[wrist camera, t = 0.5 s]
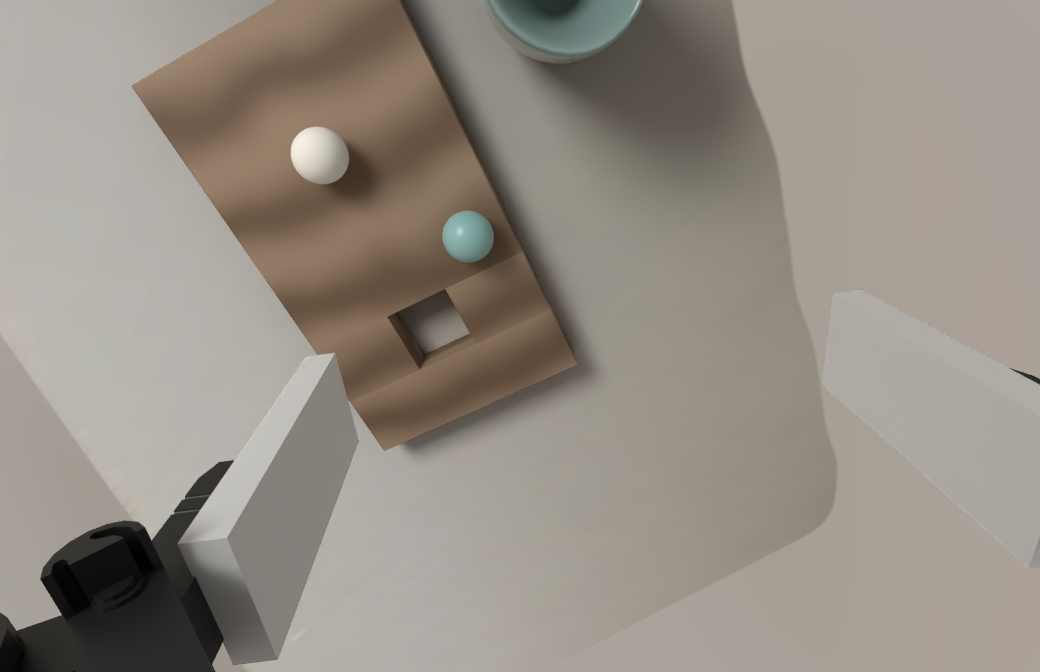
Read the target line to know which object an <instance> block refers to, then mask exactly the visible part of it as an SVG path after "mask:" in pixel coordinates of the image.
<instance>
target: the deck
mask: <svg viewBox="0 0 1040 672" xmlns="http://www.w3.org/2000/svg"><path fill="white" fill-rule="evenodd" d="M132 88H133V89H134V91H135V92H136V94H137V95H138V96H139V98H140V99H141V101H142V102H143V104H144V105H145V107H146V108H147V109H148V111H149V112H150V114H151V115H152V117H153V118H154V120H155V121H156V122H157V124H158V125H159V127H160V128H161V130H162V131H163V133H164V134H165V135H166V137H167V138H168V140H169V141H170V143H171V144H172V146H173V147H174V148H175V150H176V151H177V153H178V154H179V156H180V157H181V159H182V160H183V161H184V163H185V164H186V166H187V167H188V169H189V170H190V171H191V173H192V174H193V176H194V177H195V179H196V180H197V182H198V183H199V184H200V186H201V187H202V189H203V190H204V192H205V193H206V195H207V196H208V197H209V199H210V200H211V202H212V203H213V205H214V206H215V208H216V209H217V210H218V212H219V213H220V215H221V216H222V218H223V219H224V221H225V222H226V223H227V225H228V226H229V228H230V229H231V231H232V232H233V234H234V235H235V236H236V238H237V239H238V241H239V242H240V244H241V245H242V246H243V248H244V249H245V251H246V252H247V254H248V255H249V257H250V258H251V259H252V261H253V262H254V264H255V265H256V267H257V268H258V270H259V271H260V272H261V274H262V275H263V277H264V278H265V280H266V281H267V283H268V284H269V285H270V287H271V288H272V290H273V291H274V293H275V294H276V296H277V297H278V298H279V300H280V301H281V303H282V304H283V306H284V307H285V309H286V310H287V311H288V313H289V314H290V316H291V317H292V319H293V320H294V321H295V323H296V324H297V326H298V327H299V329H300V330H301V332H302V333H303V334H304V336H305V337H306V339H307V340H308V342H309V343H310V345H311V346H312V347H313V349H314V350H315V352H316V353H317V355H321V354H330V353H335V354H336V358H337V362H338V365H339V369H340V373H341V377H342V380H343V384H344V388H345V391H346V395H347V398H348V399H349V401H350V402H351V404H352V405H353V407H354V408H355V409H356V411H357V412H358V414H359V415H360V417H361V418H362V420H363V421H364V422H365V424H366V425H367V427H368V428H369V430H370V431H371V433H372V434H373V435H374V437H375V438H376V440H377V441H378V443H379V444H380V446H381V447H382V448H383V450H384V451H385V450H388V449H390V448H392V447H394V446H397V445H399V444H401V443H403V442H406V441H408V440H410V439H412V438H415V437H417V436H419V435H421V434H424V433H426V432H428V431H430V430H432V429H435V428H437V427H439V426H441V425H444V424H446V423H448V422H450V421H453V420H455V419H457V418H459V417H462V416H464V415H466V414H468V413H471V412H473V411H475V410H477V409H480V408H482V407H484V406H486V405H489V404H491V403H493V402H495V401H498V400H500V399H502V398H504V397H506V396H509V395H511V394H513V393H515V392H518V391H520V390H522V389H524V388H527V387H529V386H531V385H533V384H536V383H538V382H540V381H542V380H545V379H547V378H549V377H551V376H554V375H556V374H558V373H560V372H563V371H565V370H567V369H569V368H572V367H574V366H576V365H577V362H576V359H575V355H574V352H573V350H572V348H571V346H570V344H569V341H568V339H567V337H566V335H565V333H564V331H563V329H562V327H561V325H560V323H559V321H558V319H557V317H556V315H555V313H554V311H553V309H552V307H551V305H550V302H549V300H548V298H547V296H546V294H545V292H544V290H543V288H542V286H541V284H540V282H539V280H538V278H537V276H536V274H535V272H534V270H533V268H532V266H531V264H530V261H529V259H528V257H527V255H526V253H525V251H524V249H523V247H522V245H521V243H520V241H519V239H518V237H517V235H516V233H515V231H514V229H513V227H512V225H511V222H510V220H509V218H508V216H507V214H506V212H505V210H504V208H503V206H502V204H501V202H500V200H499V198H498V196H497V194H496V192H495V190H494V188H493V186H492V184H491V181H490V179H489V177H488V175H487V173H486V171H485V169H484V167H483V165H482V163H481V161H480V159H479V157H478V155H477V153H476V151H475V149H474V147H473V145H472V142H471V140H470V138H469V136H468V134H467V132H466V130H465V128H464V126H463V124H462V122H461V120H460V118H459V116H458V114H457V112H456V110H455V108H454V106H453V104H452V101H451V99H450V97H449V95H448V93H447V91H446V89H445V87H444V85H443V83H442V81H441V79H440V77H439V75H438V73H437V71H436V69H435V67H434V65H433V62H432V60H431V58H430V56H429V54H428V52H427V50H426V48H425V46H424V44H423V42H422V40H421V38H420V36H419V34H418V32H417V30H416V28H415V26H414V24H413V21H412V19H411V17H410V15H409V13H408V11H407V9H406V7H405V5H404V3H403V1H402V0H278V1H276V2H274V3H273V4H271V5H269V6H267V7H266V8H264V9H262V10H261V11H259V12H257V13H255V14H254V15H252V16H250V17H249V18H247V19H245V20H243V21H242V22H240V23H238V24H237V25H235V26H233V27H231V28H230V29H228V30H226V31H224V32H223V33H221V34H219V35H218V36H216V37H214V38H212V39H211V40H209V41H207V42H206V43H204V44H202V45H200V46H199V47H197V48H195V49H194V50H192V51H190V52H188V53H187V54H185V55H183V56H182V57H180V58H178V59H176V60H175V61H173V62H171V63H169V64H168V65H166V66H164V67H163V68H161V69H159V70H157V71H156V72H154V73H152V74H151V75H149V76H147V77H145V78H144V79H142V80H140V81H139V82H137V83H135V84H133V85H132ZM310 127H324V128H327V129H330V130H332V131H333V132H335V133H336V134H338V135H339V136H340V137H341V139H342V140H343V141H344V143H345V145H346V147H347V149H348V153H349V163H348V167H347V170H346V172H345V173H344V175H343V176H342V177H341V178H340V179H338V180H337V181H335V182H333V183H329V184H316V183H312V182H310V181H308V180H306V179H305V178H303V177H302V176H301V175H300V174H299V173H298V172H297V170H296V169H295V167H294V165H293V163H292V159H291V146H292V143H293V140H294V139H295V137H296V136H297V135H298V134H299V133H300V132H301V131H303V130H305V129H307V128H310ZM466 210H469V211H475V212H478V213H480V214H482V215H483V216H484V217H485V218H486V219H487V220H488V221H489V222H490V224H491V226H492V228H493V232H494V242H493V246H492V248H491V250H490V252H489V253H488V254H487V255H486V256H485V257H484V258H482V259H481V260H479V261H476V262H472V263H465V262H461V261H458V260H456V259H454V258H453V257H452V256H451V255H450V254H449V253H448V252H447V250H446V249H445V247H444V244H443V240H442V233H443V228H444V225H445V224H446V222H447V221H448V219H449V218H450V217H451V216H453V215H454V214H456V213H458V212H461V211H466ZM444 289H446V291H447V293H448V295H449V296H450V298H451V300H452V302H453V304H454V305H455V307H456V309H457V311H458V312H459V314H460V316H461V318H462V320H463V321H464V323H465V325H466V327H467V329H468V330H469V332H470V334H468V335H466V336H464V337H462V338H459V339H457V340H455V341H453V342H451V343H449V344H447V345H444V346H442V347H440V348H438V349H436V350H434V351H432V352H429V353H427V354H425V355H423V353H422V351H421V350H420V348H419V346H418V345H417V343H416V342H415V340H414V338H413V337H412V335H411V333H410V332H409V330H408V328H407V327H406V325H405V323H404V322H403V320H402V319H401V317H400V315H399V314H398V311H400V310H402V309H405V308H407V307H409V306H411V305H413V304H415V303H417V302H419V301H421V300H423V299H425V298H427V297H430V296H432V295H434V294H436V293H438V292H440V291H442V290H444Z"/></svg>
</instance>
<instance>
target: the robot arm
mask: <svg viewBox="0 0 1040 672" xmlns="http://www.w3.org/2000/svg"><path fill="white" fill-rule="evenodd" d="M822 386H823V387H824V388H825V389H827V390H828V391H829V392H830V393H831V394H832V395H833V396H834V397H836V398H837V399H838V400H839V401H840V402H841V403H842V404H843V405H845V406H846V407H847V408H848V409H849V410H850V411H852V412H853V413H854V414H855V415H856V416H857V417H858V418H859V419H860V420H862V421H863V422H864V423H865V424H866V425H867V426H868V427H870V428H871V429H872V430H873V431H874V432H875V433H876V434H877V435H878V436H880V437H881V438H882V439H883V440H884V441H885V442H886V443H888V444H889V445H890V446H891V447H892V448H893V449H894V450H896V451H897V452H898V453H899V454H900V455H901V456H902V457H903V458H904V459H906V460H907V461H908V462H909V463H910V464H911V465H912V466H913V467H915V468H916V469H917V470H918V471H919V472H920V473H922V474H923V475H924V476H925V477H926V478H927V479H928V480H929V481H931V482H932V483H933V484H934V485H935V486H936V487H937V488H938V489H939V490H941V491H942V492H943V493H944V494H945V495H946V496H947V497H949V498H950V499H951V500H952V501H953V502H954V503H955V504H956V505H958V506H959V507H960V508H961V509H962V510H963V511H964V512H966V513H967V514H968V515H969V516H970V517H971V518H972V519H973V520H975V521H976V522H977V523H978V524H979V525H980V526H982V528H984V529H985V530H986V531H987V532H988V533H989V534H991V536H993V537H994V538H995V539H996V540H997V541H998V542H999V543H1001V544H1002V545H1003V546H1004V547H1005V548H1006V549H1007V550H1008V551H1010V552H1011V553H1012V554H1013V555H1014V556H1015V557H1016V558H1017V559H1019V560H1020V561H1021V562H1022V563H1023V564H1024V565H1025V566H1026V567H1028V568H1036V567H1040V379H1039V378H1037V377H1034V376H1032V375H1029V374H1026V373H1023V372H1020V371H1016V370H1013V369H1010V368H1007V367H1006V366H1004V365H1002V364H1000V363H998V362H996V361H994V360H992V359H990V358H989V357H987V356H985V355H983V354H981V353H979V352H977V351H976V350H974V349H972V348H970V347H968V346H966V345H964V344H963V343H961V342H959V341H957V340H955V339H953V338H951V337H949V336H948V335H945V334H944V333H942V332H940V331H938V330H936V329H934V328H933V327H931V326H929V325H927V324H925V323H923V322H921V321H919V320H917V319H916V318H914V317H912V316H910V315H908V314H906V313H905V312H903V311H901V310H899V309H897V308H895V307H893V306H891V305H890V304H888V303H886V302H884V301H882V300H880V299H878V298H876V297H875V296H873V295H871V294H869V293H867V292H865V291H863V290H856V291H848V292H840V293H833V298H832V307H831V314H830V322H829V330H828V338H827V346H826V354H825V362H824V371H823V378H822ZM358 441H359V440H358V436H357V433H356V429H355V425H354V421H353V418H352V414H351V410H350V406H349V403H348V399H347V395H346V391H345V388H344V384H343V380H342V377H341V373H340V369H339V365H338V362H337V358H336V354H335V353H330V354H321V355H313V356H306V357H305V359H304V360H303V361H302V363H301V364H300V366H299V367H298V369H297V370H296V372H295V373H294V375H293V376H292V377H291V379H290V380H289V382H288V383H287V385H286V386H285V388H284V389H283V391H282V392H281V393H280V395H279V396H278V398H277V399H276V401H275V402H274V404H273V405H272V407H271V408H270V410H269V411H268V412H267V414H266V415H265V417H264V418H263V420H262V421H261V423H260V424H259V426H258V427H257V428H256V430H255V431H254V433H253V434H252V436H251V437H250V439H249V440H248V442H247V443H246V444H245V446H244V447H243V449H242V450H241V452H240V453H239V455H238V456H237V458H236V459H235V460H232V461H224V462H219V463H218V464H216V465H215V466H214V467H212V468H211V469H210V470H209V471H207V472H206V473H205V474H203V475H202V476H201V477H200V478H198V480H197V481H196V482H195V484H194V485H193V486H192V488H191V489H190V490H189V492H188V493H187V494H186V496H185V500H182V501H181V502H180V504H179V505H178V506H177V508H176V509H175V510H174V515H171V516H170V517H169V518H168V520H167V521H166V522H165V524H164V525H163V526H162V528H161V529H160V530H159V532H158V533H157V534H156V536H155V537H154V538H153V540H152V541H151V539H150V537H149V535H148V533H147V531H146V529H145V527H144V526H142V525H141V524H140V523H139V522H134V521H121V522H115V523H111V524H106V525H104V526H101V527H99V528H96V529H93V530H91V531H88V532H86V533H85V534H83V535H81V536H80V537H78V538H76V539H74V540H72V541H70V542H69V543H68V544H66V545H65V546H64V547H63V548H61V549H60V550H59V551H58V552H56V553H55V554H54V555H53V556H52V557H51V559H50V560H49V561H48V562H47V564H46V565H45V566H44V567H43V571H42V574H41V578H40V579H41V581H42V583H43V584H44V586H45V587H46V589H47V591H48V593H49V594H50V596H51V597H52V599H53V601H54V602H55V604H56V606H57V607H58V609H59V610H60V612H61V614H62V615H61V616H58V617H55V618H53V619H50V620H47V621H44V622H42V623H38V624H35V625H32V626H29V627H26V628H24V629H21V630H18V631H16V630H15V628H14V627H13V625H12V624H11V623H10V621H9V619H8V618H7V617H6V616H4V615H3V614H1V613H0V672H215V670H214V668H213V666H212V663H213V661H214V659H215V657H216V655H217V653H218V651H219V649H220V647H221V644H222V642H223V643H224V646H225V648H226V650H227V652H228V654H229V656H230V659H231V661H232V663H233V665H238V664H246V663H254V662H263V661H271V660H278V657H279V654H280V652H281V649H282V646H283V644H284V641H285V638H286V636H287V633H288V630H289V627H290V625H291V622H292V619H293V617H294V614H295V611H296V609H297V606H298V603H299V600H300V598H301V595H302V592H303V590H304V587H305V584H306V582H307V579H308V576H309V574H310V571H311V568H312V565H313V563H314V560H315V557H316V555H317V552H318V549H319V547H320V544H321V541H322V538H323V536H324V533H325V530H326V528H327V525H328V522H329V520H330V517H331V514H332V512H333V509H334V506H335V503H336V501H337V498H338V495H339V493H340V490H341V487H342V485H343V482H344V479H345V476H346V474H347V471H348V468H349V466H350V463H351V460H352V458H353V455H354V452H355V449H356V447H357V444H358Z"/></svg>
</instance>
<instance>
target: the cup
mask: <svg viewBox="0 0 1040 672" xmlns="http://www.w3.org/2000/svg"><path fill="white" fill-rule="evenodd" d="M484 2H485V5H486V9H487V13H488V15H489V17H490V19H491V21H492V23H493V25H494V27H495V29H496V30H497V32H498V33H499V34H500V35H501V36H502V38H503V39H504V40H505V41H506V42H507V43H508V44H509V45H511V46H512V47H513V48H514V49H515V50H517V51H518V52H520V53H522V54H524V55H526V56H527V57H529V58H532V59H535V60H538V61H541V62H545V63H552V64H565V63H574V62H577V61H580V60H583V59H586V58H589V57H591V56H594V55H596V54H597V53H599V52H601V51H602V50H604V49H605V48H607V47H609V46H610V45H612V44H613V43H614V42H615V41H616V40H617V39H618V38H619V37H620V36H621V35H622V34H623V33H624V32H625V31H626V30H627V28H628V27H629V26H630V24H631V23H632V21H633V20H634V19H635V17H636V16H637V14H638V12H639V10H640V8H641V6H642V4H643V2H644V0H484Z"/></svg>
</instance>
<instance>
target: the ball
mask: <svg viewBox="0 0 1040 672" xmlns="http://www.w3.org/2000/svg"><path fill="white" fill-rule="evenodd" d="M291 159H292V163H293V165H294V167H295V169H296V170H297V172H298V173H299V174H300V175H301V176H302V177H303V178H305V179H306V180H308V181H310V182H312V183H316V184H329V183H333V182H335V181H337V180H338V179H340V178H341V177H342V176H343V175H344V173H345V172H346V170H347V167H348V163H349V153H348V149H347V147H346V145H345V143H344V141H343V140H342V139H341V137H340V136H339V135H338V134H336V133H335V132H333V131H332V130H330V129H327V128H324V127H310V128H307V129H305V130H303V131H301V132H300V133H299V134H298V135H297V136H296V137H295V139H294V140H293V143H292V146H291Z"/></svg>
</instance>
